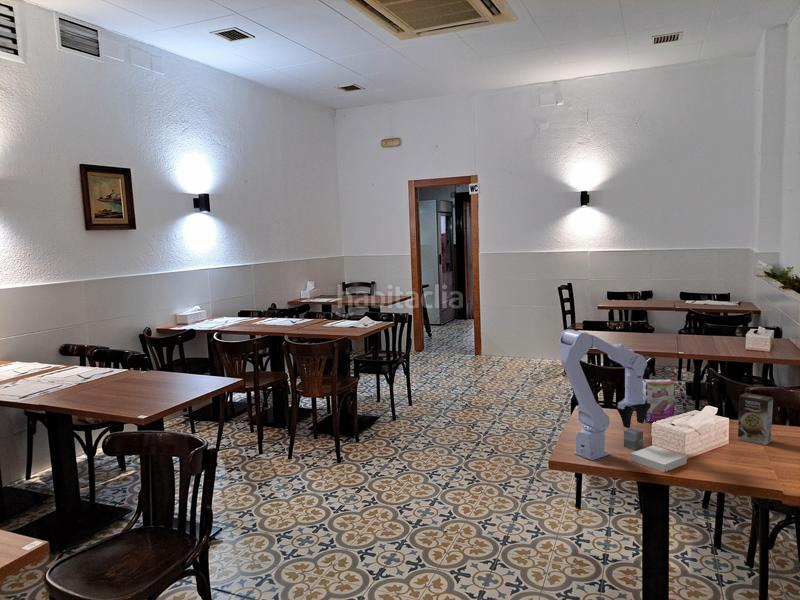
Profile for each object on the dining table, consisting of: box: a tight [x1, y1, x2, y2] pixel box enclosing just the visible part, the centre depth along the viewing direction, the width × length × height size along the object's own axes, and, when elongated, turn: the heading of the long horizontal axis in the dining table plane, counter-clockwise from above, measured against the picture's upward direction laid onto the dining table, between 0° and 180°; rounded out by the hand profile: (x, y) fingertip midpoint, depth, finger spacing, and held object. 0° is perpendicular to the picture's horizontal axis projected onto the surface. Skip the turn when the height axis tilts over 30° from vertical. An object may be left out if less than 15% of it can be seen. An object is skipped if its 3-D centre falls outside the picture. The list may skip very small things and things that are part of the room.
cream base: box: [630, 444, 688, 473], centre depth 184 cm, size 12×12×2 cm
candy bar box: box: [643, 379, 676, 423], centre depth 224 cm, size 11×5×16 cm, turn 84°
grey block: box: [623, 427, 644, 451], centre depth 198 cm, size 4×4×6 cm
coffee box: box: [737, 392, 774, 446], centre depth 200 cm, size 9×6×16 cm
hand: (633, 425), depth 197 cm, fingers open, 7 cm apart
